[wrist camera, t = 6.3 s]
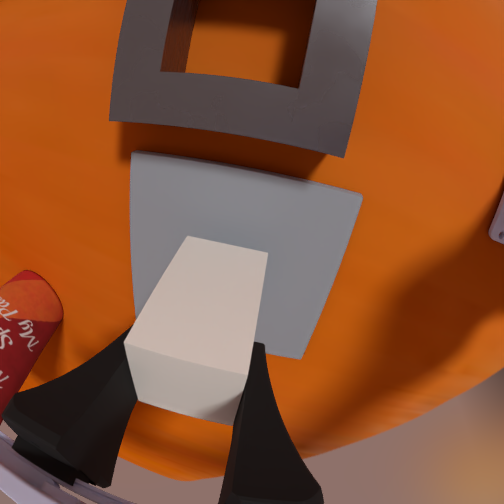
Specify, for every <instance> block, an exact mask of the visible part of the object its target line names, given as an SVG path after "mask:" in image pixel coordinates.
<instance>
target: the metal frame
mask: <svg viewBox="0 0 504 504" xmlns="http://www.w3.org/2000/svg"><path fill="white" fill-rule="evenodd" d="M198 3H199V0H127V3H126V7H125V11H124V16H123V21H122V26H121V31H120V36H119V41H118V47H117V53H116V60H115V67H114V74H113V83H112V92H111V102H110V114H109V121H121V122H136V123H149V124H160V125H170V126H179V127H187V128H195V129H203V130H210V131H217V132H223V133H230V134H236V135H241V136H247V137H253V138H258V139H263V140H268V141H273V142H278V143H283V144H287V145H292V146H297V147H301V148H305V149H309V150H314V151H318V152H322V153H326V154H330V155H333V156H337V157H341V158H344V156H345V152H346V148H347V144H348V140H349V136H350V132H351V128H352V124H353V120H354V116H355V111H356V107H357V103H358V98H359V94H360V89H361V85H362V80H363V75H364V71H365V66H366V61H367V56H368V51H369V45H370V40H371V34H372V29H373V23H374V17H375V11H376V5H377V0H315V5H314V10H313V15H312V21H311V26H310V31H309V36H308V41H307V46H306V51H305V56H304V60H303V65H302V70H301V75H300V80H299V85H298V89H297V88H292V87H288V86H283V85H277V84H272V83H266V82H260V81H254V80H248V79H241V78H233V77H225V76H216V75H206V74H194V73H185V69H186V64H187V58H188V52H189V47H190V41H191V36H192V31H193V26H194V21H195V17H196V12H197V8H198Z"/></svg>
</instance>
